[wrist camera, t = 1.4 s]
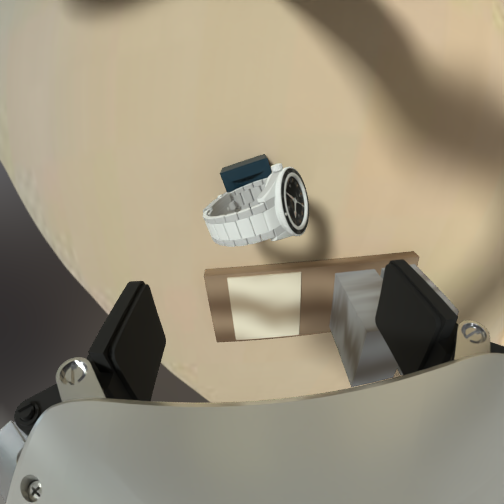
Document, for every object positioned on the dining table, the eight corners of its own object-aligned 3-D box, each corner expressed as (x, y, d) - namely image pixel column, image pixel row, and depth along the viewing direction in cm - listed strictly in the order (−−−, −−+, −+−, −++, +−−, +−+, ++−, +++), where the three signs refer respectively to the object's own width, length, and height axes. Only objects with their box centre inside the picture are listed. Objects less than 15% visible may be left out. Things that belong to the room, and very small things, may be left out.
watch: (298, 199, 28) (329, 243, 18) (224, 223, 29) (216, 278, 19) (283, 147, 26) (309, 162, 16) (205, 173, 26) (183, 204, 17)
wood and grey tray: (205, 269, 31) (190, 340, 21) (413, 251, 31) (465, 302, 21) (217, 334, 36) (211, 406, 25) (399, 312, 36) (434, 368, 25)
